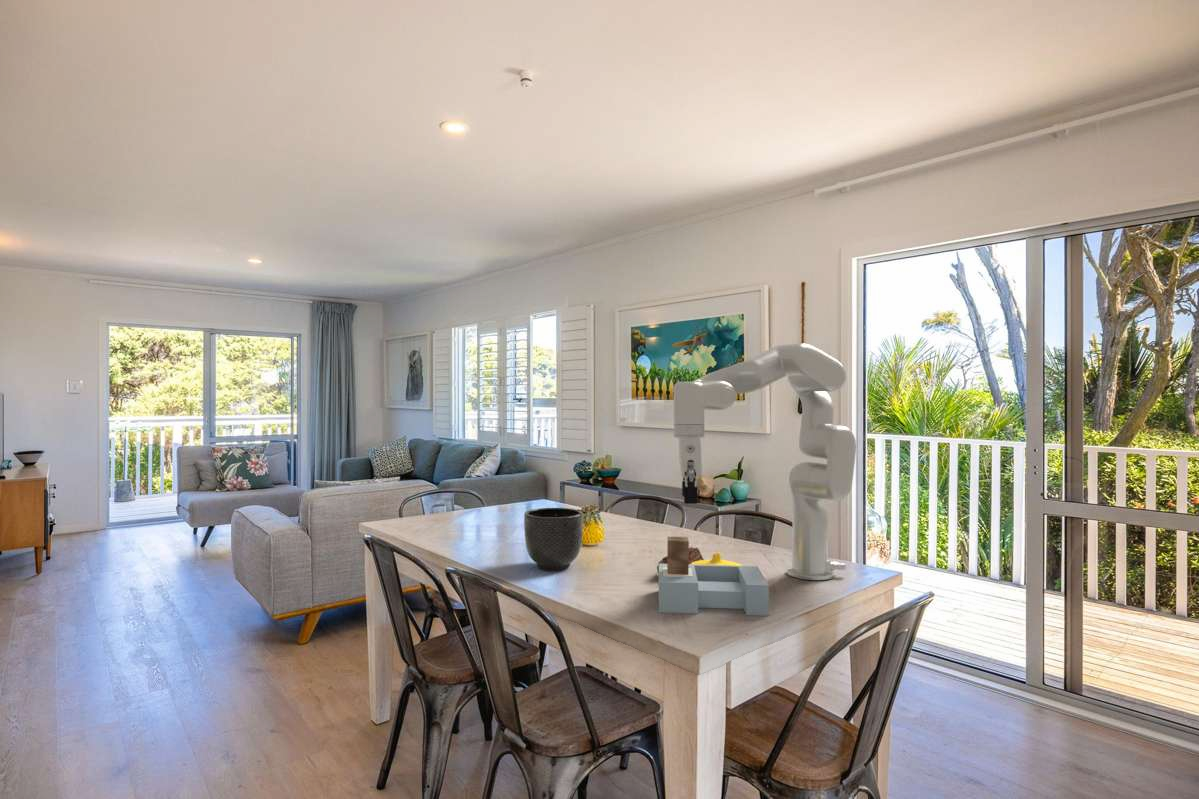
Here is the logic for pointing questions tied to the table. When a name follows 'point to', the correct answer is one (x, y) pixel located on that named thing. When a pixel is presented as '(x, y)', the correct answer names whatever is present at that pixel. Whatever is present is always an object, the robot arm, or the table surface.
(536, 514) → the planter
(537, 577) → the table surface
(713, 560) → the yellow piece
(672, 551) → the walnut block
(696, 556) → the driftwood
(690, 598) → the slot box
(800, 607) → the table surface
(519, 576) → the table surface
